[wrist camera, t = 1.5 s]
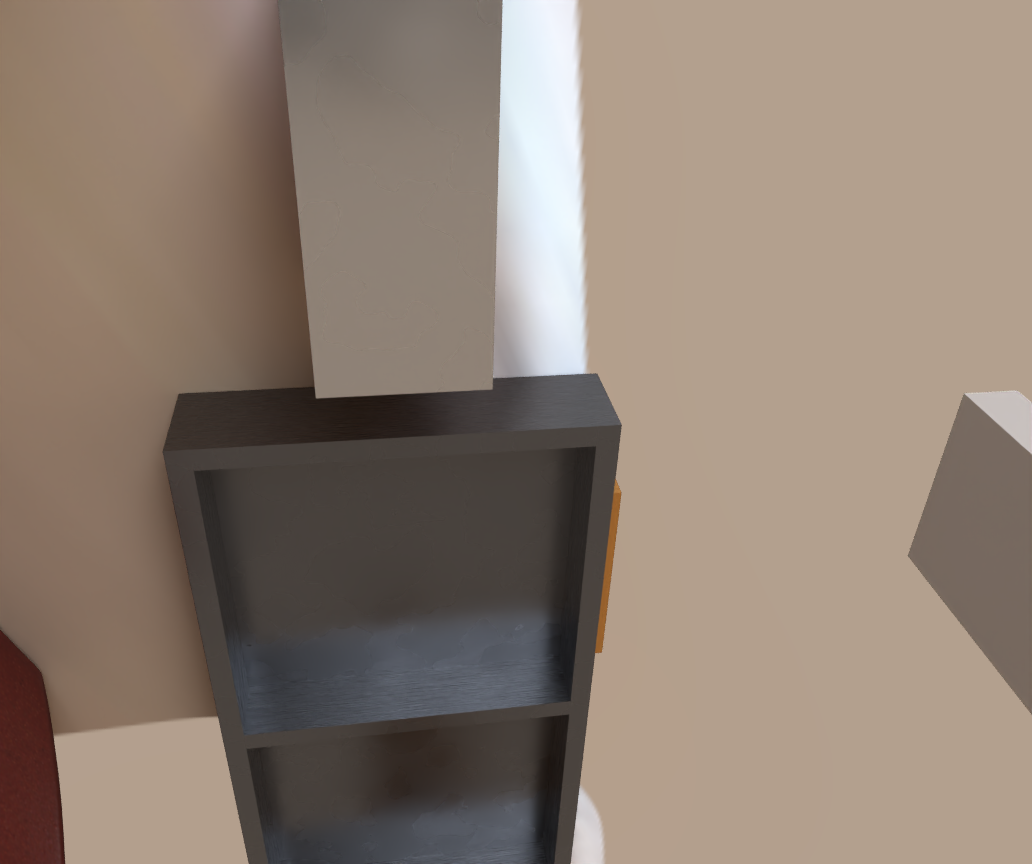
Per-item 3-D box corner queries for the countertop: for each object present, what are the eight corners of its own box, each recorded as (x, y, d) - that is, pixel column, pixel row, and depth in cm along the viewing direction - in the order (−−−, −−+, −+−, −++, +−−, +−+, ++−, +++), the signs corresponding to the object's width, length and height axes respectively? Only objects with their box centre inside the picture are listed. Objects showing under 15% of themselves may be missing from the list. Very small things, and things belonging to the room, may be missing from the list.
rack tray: (268, 866, 46) (263, 936, 43) (178, 394, 31) (162, 451, 28) (560, 829, 48) (574, 893, 46) (607, 373, 33) (633, 424, 31)
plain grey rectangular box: (320, 272, 30) (316, 398, 23) (290, -80, 24) (273, -47, 18) (458, 268, 30) (492, 389, 24) (459, -75, 25) (503, -42, 18)
